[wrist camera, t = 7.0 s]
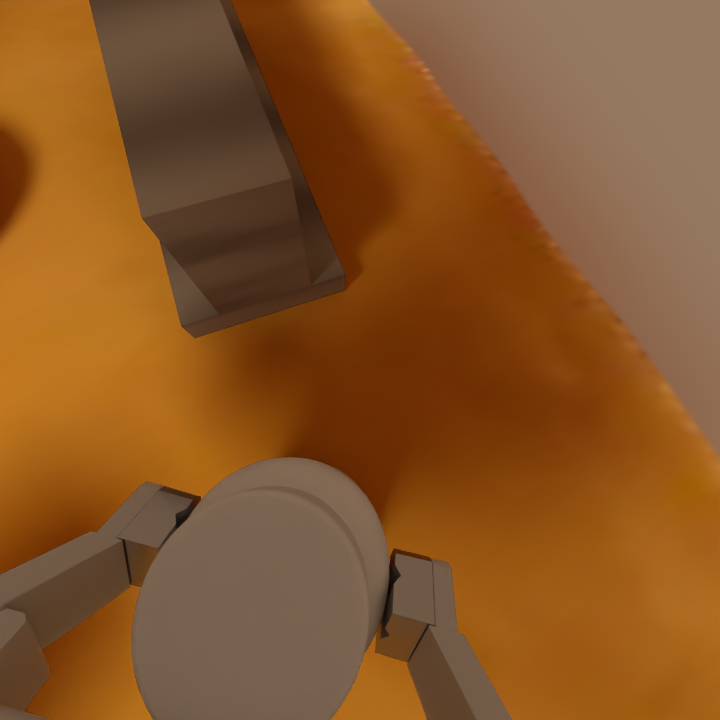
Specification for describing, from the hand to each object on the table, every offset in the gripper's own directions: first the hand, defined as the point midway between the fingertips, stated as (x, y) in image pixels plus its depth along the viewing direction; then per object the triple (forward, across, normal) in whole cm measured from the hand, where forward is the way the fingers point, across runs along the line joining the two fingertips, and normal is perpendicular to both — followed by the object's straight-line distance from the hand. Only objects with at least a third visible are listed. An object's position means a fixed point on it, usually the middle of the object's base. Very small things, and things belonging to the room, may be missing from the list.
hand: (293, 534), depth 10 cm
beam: (+17, +11, -8) cm, 22 cm away
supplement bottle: (+4, 0, +5) cm, 6 cm away
